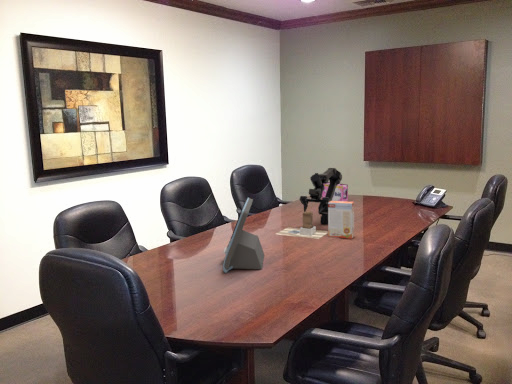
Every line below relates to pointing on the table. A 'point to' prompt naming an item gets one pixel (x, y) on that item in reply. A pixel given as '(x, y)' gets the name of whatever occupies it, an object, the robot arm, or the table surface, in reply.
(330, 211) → the cracker box
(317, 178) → the robot arm
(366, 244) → the table surface
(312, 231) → the sleeve
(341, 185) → the gum box
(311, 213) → the walnut block
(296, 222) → the table surface
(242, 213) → the touchscreen device
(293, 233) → the board
